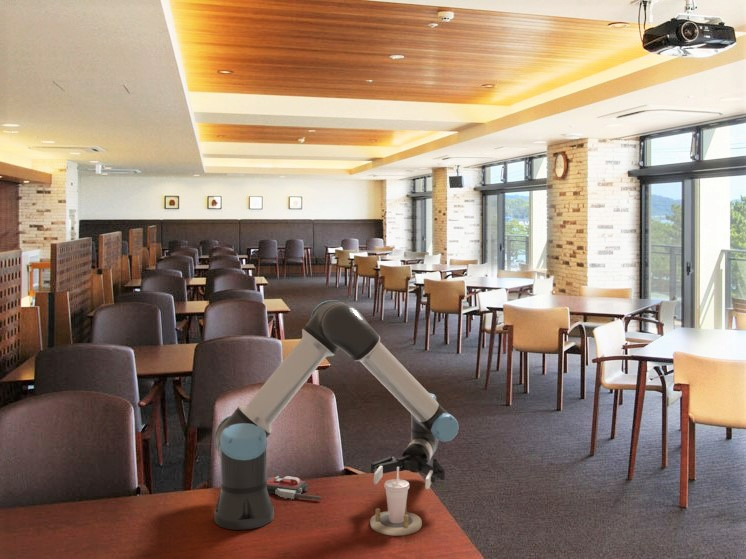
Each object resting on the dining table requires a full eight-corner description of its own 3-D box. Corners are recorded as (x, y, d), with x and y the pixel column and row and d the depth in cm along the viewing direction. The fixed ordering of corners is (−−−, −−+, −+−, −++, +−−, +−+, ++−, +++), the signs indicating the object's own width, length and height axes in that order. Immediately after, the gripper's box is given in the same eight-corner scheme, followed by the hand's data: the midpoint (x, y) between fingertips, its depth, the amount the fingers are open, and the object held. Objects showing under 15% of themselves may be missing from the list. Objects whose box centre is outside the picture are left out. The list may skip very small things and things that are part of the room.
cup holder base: (360, 528, 179) (360, 513, 178) (385, 510, 190) (385, 496, 190) (407, 539, 172) (407, 523, 172) (430, 520, 184) (430, 505, 183)
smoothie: (391, 527, 177) (391, 472, 176) (379, 518, 182) (379, 464, 181) (413, 522, 180) (414, 468, 179) (401, 513, 185) (401, 460, 184)
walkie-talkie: (254, 495, 201) (319, 504, 195) (253, 480, 201) (319, 489, 195) (268, 485, 210) (331, 493, 203) (268, 470, 209) (331, 478, 203)
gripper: (460, 472, 201) (448, 500, 180) (374, 464, 207) (354, 491, 187) (460, 446, 200) (449, 471, 180) (374, 439, 207) (354, 463, 186)
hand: (400, 481), depth 183 cm, fingers open, 13 cm apart
